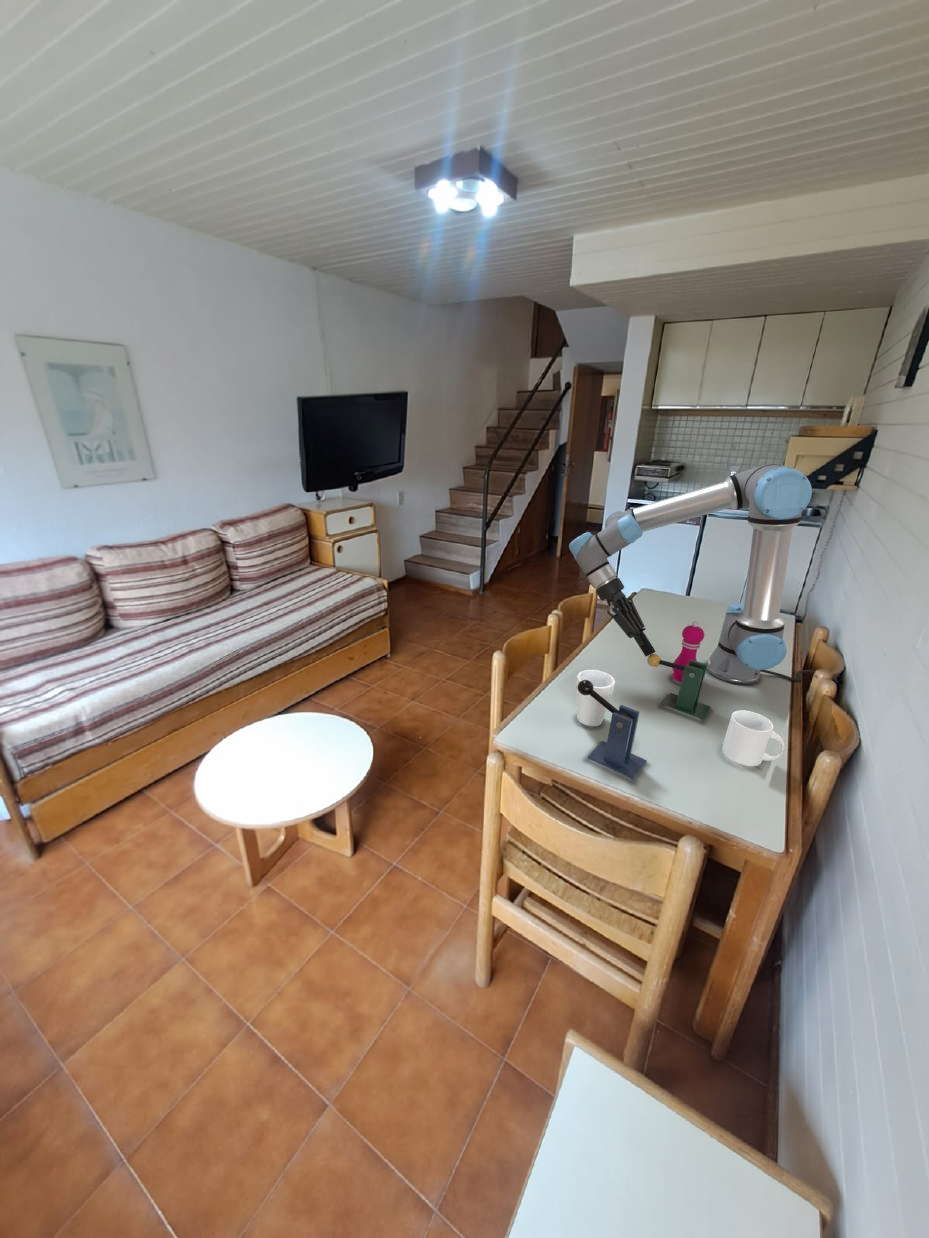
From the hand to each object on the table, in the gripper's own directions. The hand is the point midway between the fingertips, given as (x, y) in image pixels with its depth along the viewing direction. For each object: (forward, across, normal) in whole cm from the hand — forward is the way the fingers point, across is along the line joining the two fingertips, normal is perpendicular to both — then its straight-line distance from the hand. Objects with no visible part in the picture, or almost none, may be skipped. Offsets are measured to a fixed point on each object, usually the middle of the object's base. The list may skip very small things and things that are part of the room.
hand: (650, 653), depth 139 cm
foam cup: (+6, +24, -13) cm, 28 cm away
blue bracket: (+14, +35, -4) cm, 38 cm away
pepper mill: (+14, -16, -4) cm, 21 cm away
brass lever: (+7, 0, +3) cm, 7 cm away
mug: (+31, +13, +13) cm, 36 cm away
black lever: (+1, +35, 0) cm, 35 cm away
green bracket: (+18, 0, 0) cm, 18 cm away
